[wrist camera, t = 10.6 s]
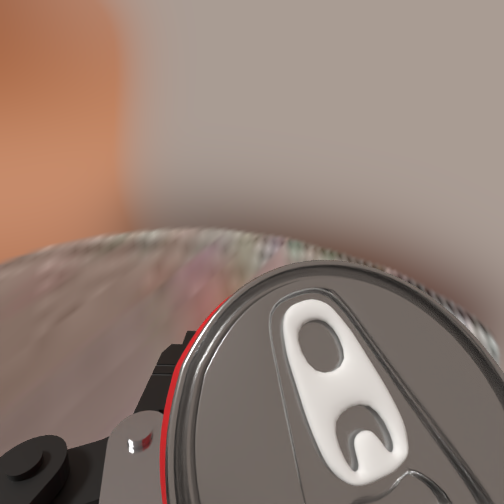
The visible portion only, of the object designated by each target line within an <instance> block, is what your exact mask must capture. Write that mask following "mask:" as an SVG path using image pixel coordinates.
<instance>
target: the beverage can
mask: <svg viewBox="0 0 504 504" xmlns="http://www.w3.org/2000/svg"><path fill="white" fill-rule="evenodd" d="M160 484H161V494H162V503H163V504H504V373H503V371H502V370H501V368H500V367H499V365H498V364H497V363H496V361H495V360H494V359H493V357H492V356H491V355H490V354H489V352H488V351H487V350H486V348H485V347H484V346H483V345H482V344H481V343H480V341H479V340H478V339H477V338H476V337H475V336H474V335H473V334H472V333H471V332H470V331H469V330H468V328H467V327H466V326H465V325H464V324H463V323H461V322H460V321H459V320H458V319H457V318H456V317H455V316H454V315H453V314H452V313H450V312H449V311H448V310H447V309H446V308H445V307H443V306H442V305H441V304H440V303H438V302H437V301H436V300H434V299H433V298H431V297H430V296H429V295H427V294H426V293H424V292H423V291H421V290H419V289H418V288H416V287H415V286H413V285H411V284H409V283H407V282H406V281H404V280H402V279H400V278H398V277H395V276H393V275H391V274H389V273H386V272H384V271H381V270H378V269H375V268H372V267H369V266H365V265H361V264H357V263H352V262H346V261H337V260H313V261H304V262H298V263H293V264H289V265H285V266H282V267H279V268H276V269H274V270H271V271H269V272H266V273H264V274H262V275H260V276H258V277H257V278H255V279H253V280H252V281H250V282H248V283H247V284H245V285H244V286H243V287H241V288H240V289H238V290H237V291H236V292H235V293H234V294H232V295H231V296H230V297H228V298H227V299H226V300H225V301H223V302H222V303H221V304H220V305H219V306H218V307H217V308H216V309H215V310H214V311H213V312H212V313H211V314H210V315H209V316H208V317H207V319H206V320H205V321H204V322H203V323H202V325H201V326H200V327H199V329H198V330H197V331H196V333H195V334H194V336H193V337H192V339H191V340H190V342H189V344H188V345H187V347H186V349H185V350H184V352H183V354H182V355H181V357H180V359H179V361H178V363H177V364H176V367H175V369H174V372H173V376H172V380H171V383H170V387H169V391H168V395H167V400H166V405H165V409H164V415H163V421H162V428H161V439H160Z"/></svg>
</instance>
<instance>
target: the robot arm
mask: <svg viewBox="0 0 504 504" xmlns="http://www.w3.org/2000/svg"><path fill="white" fill-rule="evenodd" d="M195 333H196V331H187V333H186V336H185V339H184V341H183V344H171V345H170V346H169V347H168V348H167V349H166V350H165V351H164V352H162V354H161V356H160V358H159V360H158V362H157V366H156V367H155V369H154V371H153V373H152V375H151V377H150V379H149V381H148V384H147V386H146V388H145V390H144V392H143V394H142V396H141V399H140V401H139V403H138V405H137V407H136V409H135V411H134V413H133V414H132V415H130V416H129V417H127V418H125V419H124V420H123V421H121V422H120V423H119V424H118V425H117V426H116V427H115V429H114V430H113V431H112V433H111V435H110V436H109V437H107V438H105V439H102V440H99V441H96V442H93V443H90V444H86V445H82V446H79V447H75V448H72V449H68V450H67V446H66V443H65V441H64V440H63V439H62V438H60V437H58V436H54V435H45V436H39V437H36V438H32V439H30V440H27V441H25V442H23V443H21V444H19V445H17V446H16V447H14V448H12V449H11V450H9V451H8V452H6V453H5V454H4V455H3V456H1V457H0V504H163V503H162V494H161V484H160V439H161V428H162V421H163V415H164V409H165V405H166V400H167V395H168V391H169V387H170V383H171V380H172V376H173V372H174V369H175V367H176V364H177V363H178V361H179V359H180V357H181V355H182V354H183V352H184V350H185V349H186V347H187V345H188V344H189V342H190V340H191V339H192V337H193V336H194V334H195Z"/></svg>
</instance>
